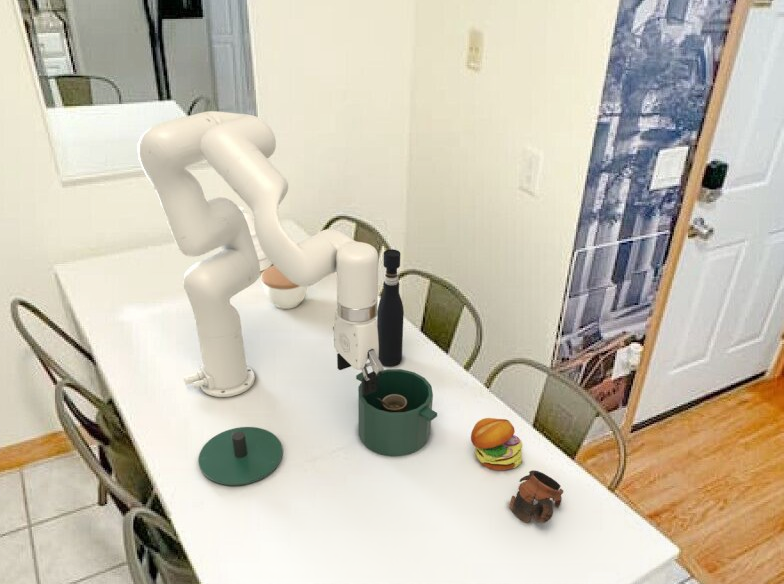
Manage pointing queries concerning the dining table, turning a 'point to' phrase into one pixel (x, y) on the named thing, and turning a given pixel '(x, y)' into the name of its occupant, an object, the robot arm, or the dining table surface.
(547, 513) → the brown hollow piece
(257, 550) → the dining table surface
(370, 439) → the pot
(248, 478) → the lid
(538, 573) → the dining table surface
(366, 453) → the dining table surface
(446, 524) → the dining table surface
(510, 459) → the cheeseburger
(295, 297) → the lidded bowl
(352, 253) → the robot arm
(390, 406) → the mate gourd
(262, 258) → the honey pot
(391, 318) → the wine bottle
